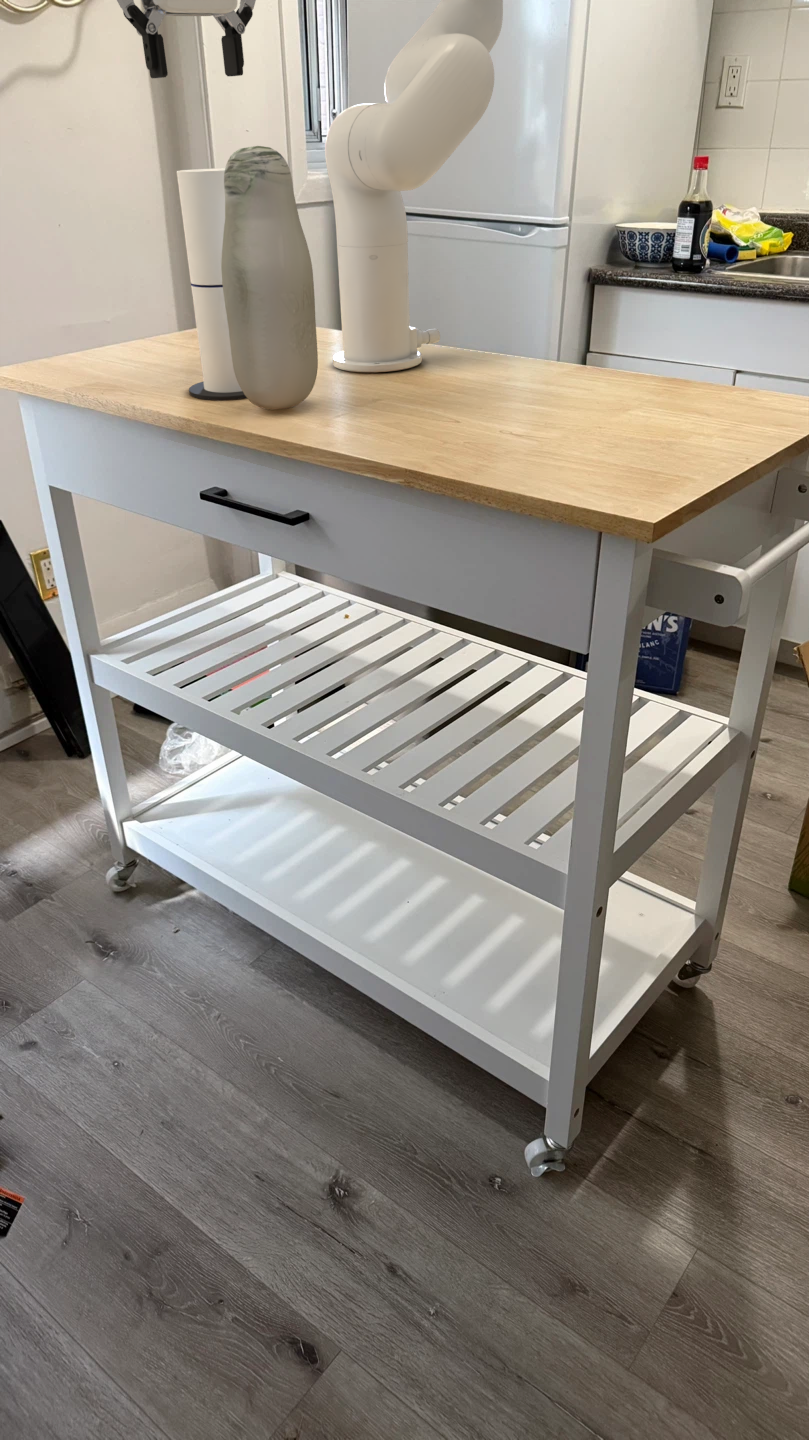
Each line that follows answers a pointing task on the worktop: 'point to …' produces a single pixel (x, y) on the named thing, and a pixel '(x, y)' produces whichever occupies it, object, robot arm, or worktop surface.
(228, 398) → the coaster
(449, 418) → the worktop surface
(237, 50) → the robot arm
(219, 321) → the cylindrical container
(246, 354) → the standing stone ornament
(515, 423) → the worktop surface
